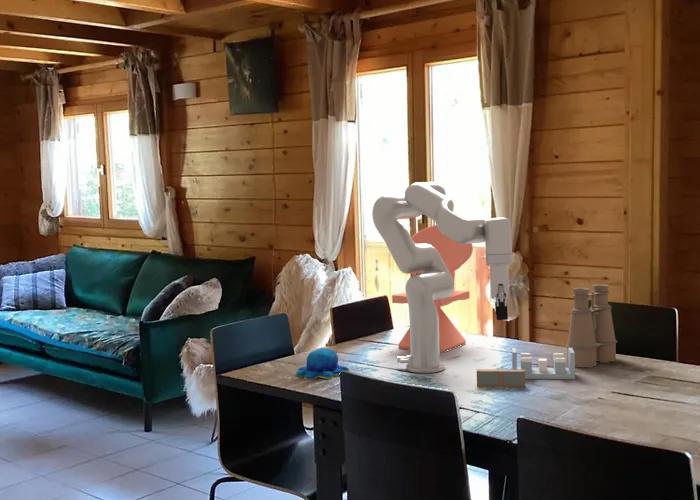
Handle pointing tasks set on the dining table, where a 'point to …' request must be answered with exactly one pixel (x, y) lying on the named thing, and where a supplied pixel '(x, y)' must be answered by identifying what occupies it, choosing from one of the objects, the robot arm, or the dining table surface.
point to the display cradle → (543, 371)
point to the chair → (453, 259)
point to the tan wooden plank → (501, 378)
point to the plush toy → (321, 365)
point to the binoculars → (591, 327)
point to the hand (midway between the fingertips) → (501, 317)
